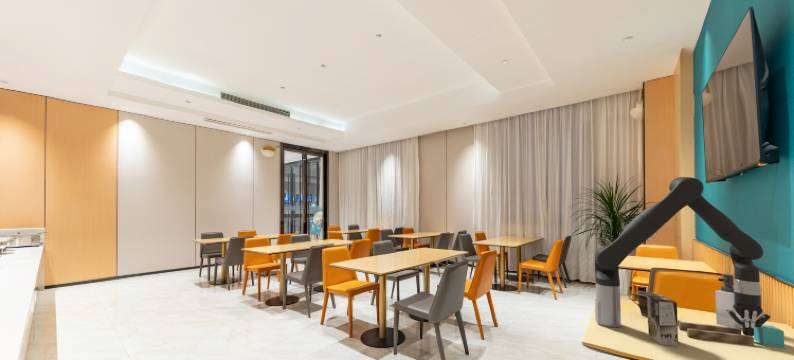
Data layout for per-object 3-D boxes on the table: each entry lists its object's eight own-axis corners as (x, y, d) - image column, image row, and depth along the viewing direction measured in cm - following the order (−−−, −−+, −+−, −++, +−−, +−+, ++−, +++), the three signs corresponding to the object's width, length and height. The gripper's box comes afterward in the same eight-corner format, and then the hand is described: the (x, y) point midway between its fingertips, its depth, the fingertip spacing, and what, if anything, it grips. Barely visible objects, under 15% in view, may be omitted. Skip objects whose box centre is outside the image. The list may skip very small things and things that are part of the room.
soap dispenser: (713, 324, 154) (711, 273, 155) (725, 322, 156) (724, 272, 158) (731, 329, 147) (729, 277, 149) (744, 327, 150) (742, 275, 151)
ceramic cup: (661, 314, 165) (660, 293, 166) (664, 321, 157) (663, 298, 157) (628, 310, 172) (628, 289, 173) (629, 315, 164) (629, 294, 164)
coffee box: (679, 346, 130) (677, 302, 131) (659, 344, 131) (658, 301, 132) (665, 336, 139) (664, 295, 140) (647, 335, 140) (646, 294, 141)
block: (763, 345, 132) (762, 328, 132) (753, 339, 137) (753, 323, 138) (784, 347, 130) (783, 331, 130) (773, 341, 135) (773, 325, 135)
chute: (688, 337, 138) (688, 329, 139) (679, 328, 148) (678, 321, 148) (754, 345, 131) (753, 337, 131) (739, 335, 140) (739, 328, 141)
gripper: (730, 292, 135) (732, 337, 135) (775, 296, 131) (777, 343, 130) (721, 287, 142) (722, 330, 142) (763, 291, 138) (764, 335, 137)
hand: (748, 336), depth 136 cm, fingers closed
